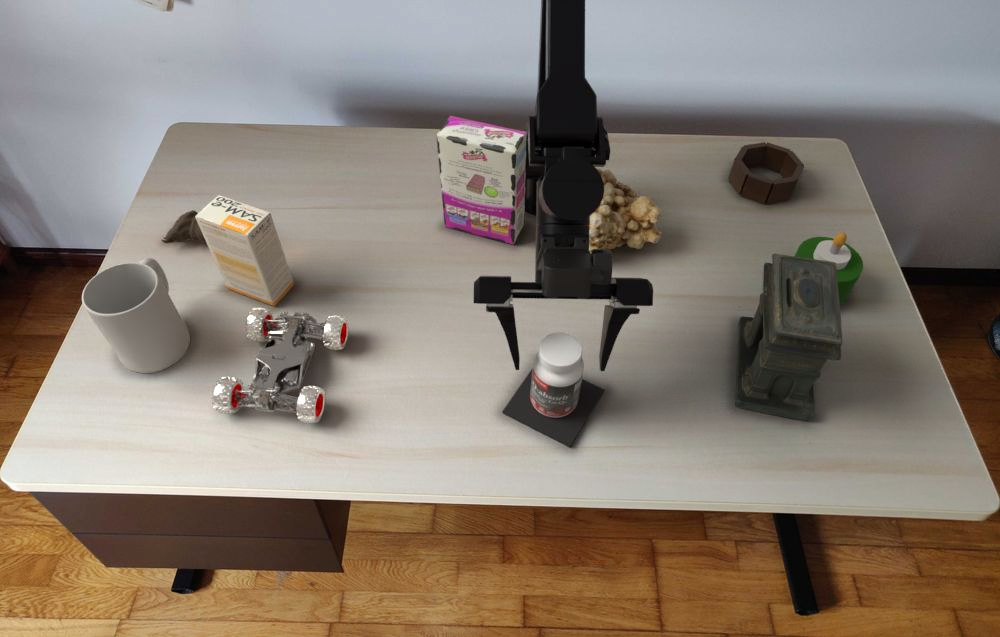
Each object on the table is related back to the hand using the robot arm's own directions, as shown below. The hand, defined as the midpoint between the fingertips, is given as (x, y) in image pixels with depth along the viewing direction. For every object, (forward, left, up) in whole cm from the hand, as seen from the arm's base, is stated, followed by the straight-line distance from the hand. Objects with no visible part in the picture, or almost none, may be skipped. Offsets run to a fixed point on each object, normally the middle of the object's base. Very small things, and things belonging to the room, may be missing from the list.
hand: (559, 370), depth 76 cm
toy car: (-31, -12, -9) cm, 34 cm away
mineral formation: (-8, +32, -9) cm, 34 cm away
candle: (+21, +36, -9) cm, 43 cm away
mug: (-49, -16, -9) cm, 52 cm away
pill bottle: (-1, +1, -8) cm, 8 cm away
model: (+20, +19, -9) cm, 29 cm away
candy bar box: (-24, +23, -9) cm, 34 cm away
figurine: (-57, 0, -9) cm, 57 cm away
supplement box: (-44, -3, -9) cm, 45 cm away
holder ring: (+8, +54, -8) cm, 55 cm away
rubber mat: (-1, +1, -9) cm, 9 cm away
